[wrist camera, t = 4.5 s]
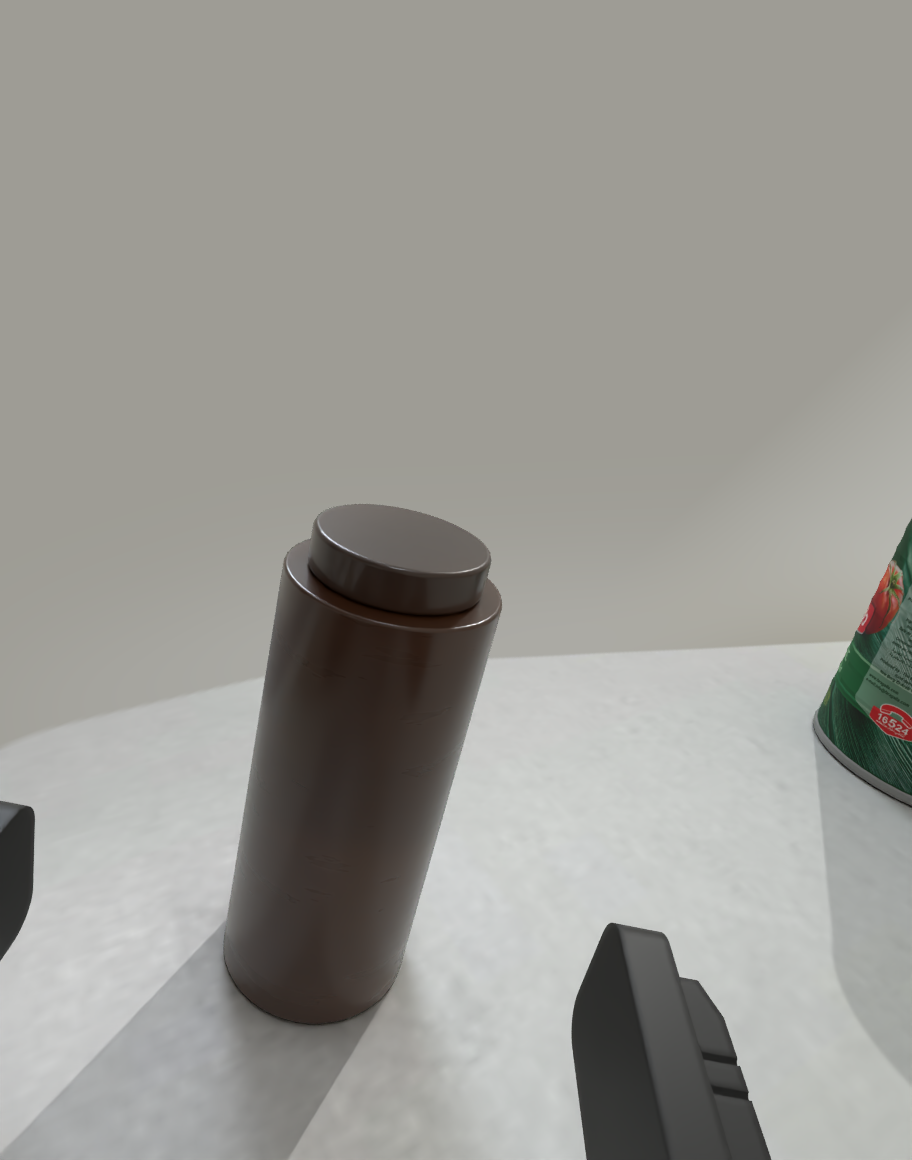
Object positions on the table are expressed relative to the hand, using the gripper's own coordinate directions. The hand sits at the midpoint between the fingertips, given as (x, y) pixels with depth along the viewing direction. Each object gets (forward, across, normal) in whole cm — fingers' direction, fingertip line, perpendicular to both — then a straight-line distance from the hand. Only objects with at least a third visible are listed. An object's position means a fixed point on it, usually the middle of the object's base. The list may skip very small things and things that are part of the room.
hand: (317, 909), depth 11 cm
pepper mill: (+5, 0, +6) cm, 8 cm away
